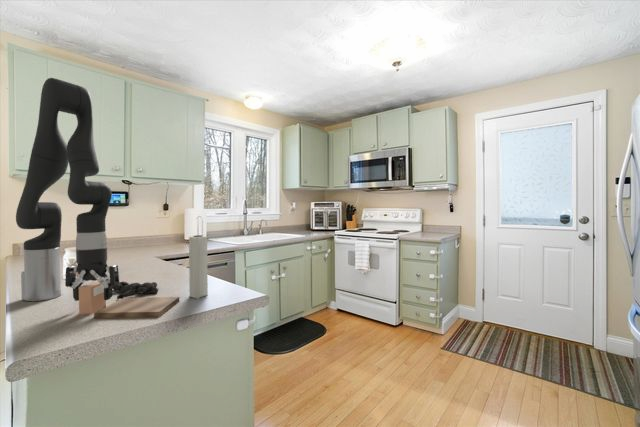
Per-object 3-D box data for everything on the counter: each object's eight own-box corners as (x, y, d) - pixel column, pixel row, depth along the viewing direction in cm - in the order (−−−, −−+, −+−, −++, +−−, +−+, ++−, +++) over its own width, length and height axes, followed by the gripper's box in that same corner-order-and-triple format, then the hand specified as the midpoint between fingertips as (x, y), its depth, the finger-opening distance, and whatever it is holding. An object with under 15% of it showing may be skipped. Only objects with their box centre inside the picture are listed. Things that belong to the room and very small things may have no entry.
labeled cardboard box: (79, 314, 88) (78, 287, 88) (94, 306, 95) (94, 281, 94) (92, 313, 88) (91, 287, 88) (106, 306, 95) (106, 281, 95)
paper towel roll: (196, 292, 110) (195, 234, 110) (211, 293, 109) (210, 235, 108) (183, 298, 103) (182, 236, 103) (199, 299, 102) (198, 237, 101)
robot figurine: (89, 300, 104) (138, 302, 100) (88, 288, 104) (137, 289, 100) (131, 287, 121) (174, 288, 117) (130, 276, 121) (173, 277, 117)
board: (94, 318, 85) (93, 313, 85) (123, 302, 99) (123, 297, 99) (159, 316, 86) (159, 311, 86) (179, 301, 100) (179, 296, 100)
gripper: (57, 249, 87) (58, 304, 87) (108, 248, 88) (109, 303, 88) (76, 245, 94) (78, 296, 95) (123, 245, 95) (124, 295, 95)
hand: (93, 299), depth 91 cm, fingers open, 8 cm apart
